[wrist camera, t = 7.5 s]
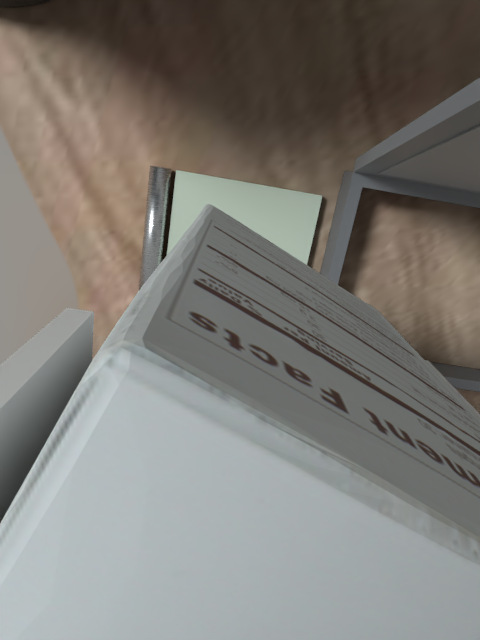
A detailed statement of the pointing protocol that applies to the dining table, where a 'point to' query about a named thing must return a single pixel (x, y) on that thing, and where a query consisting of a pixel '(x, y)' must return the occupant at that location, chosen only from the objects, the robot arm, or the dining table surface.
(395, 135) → the lid
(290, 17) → the dining table surface
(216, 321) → the supplement box
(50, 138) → the dining table surface
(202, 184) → the mat
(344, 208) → the grey square frame
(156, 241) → the rod
